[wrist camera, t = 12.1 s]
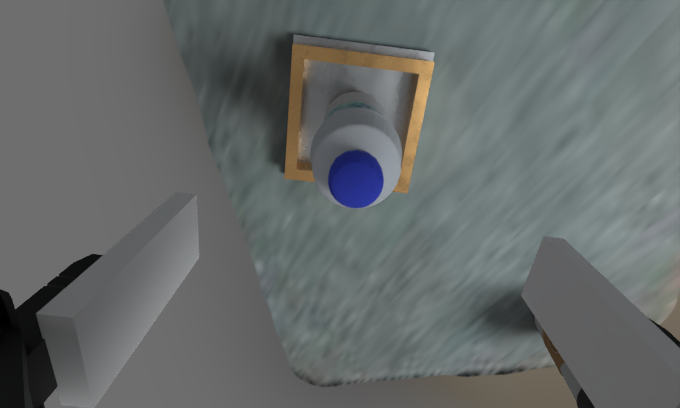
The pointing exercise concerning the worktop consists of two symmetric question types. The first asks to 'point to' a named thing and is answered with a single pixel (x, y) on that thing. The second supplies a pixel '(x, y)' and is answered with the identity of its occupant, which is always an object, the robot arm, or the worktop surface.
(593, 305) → the robot arm
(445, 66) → the worktop surface
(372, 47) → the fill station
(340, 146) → the bottle
